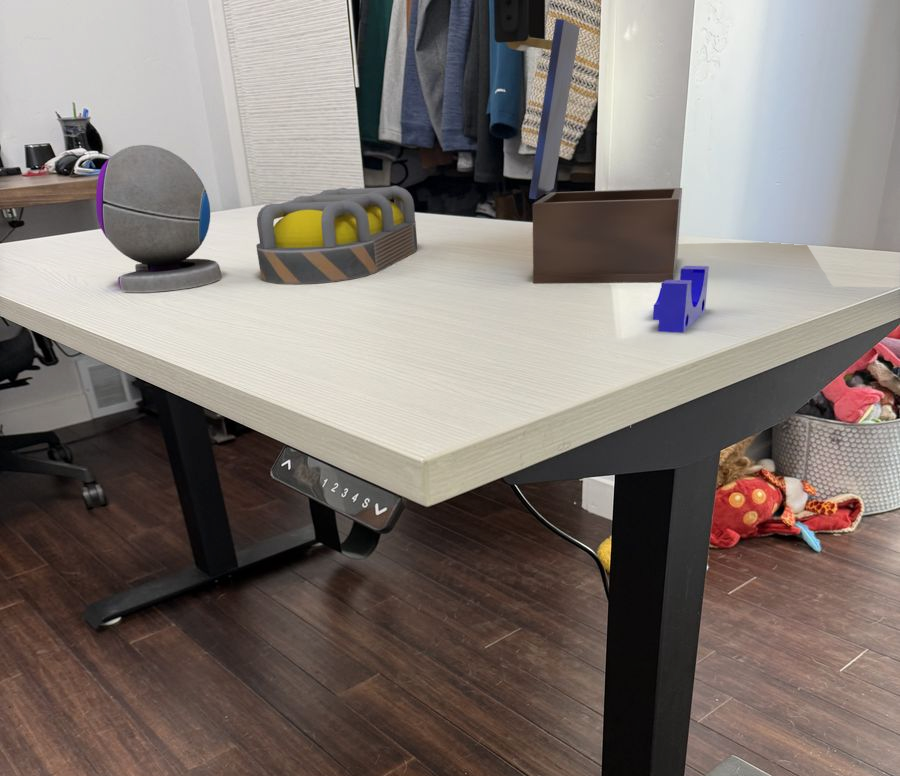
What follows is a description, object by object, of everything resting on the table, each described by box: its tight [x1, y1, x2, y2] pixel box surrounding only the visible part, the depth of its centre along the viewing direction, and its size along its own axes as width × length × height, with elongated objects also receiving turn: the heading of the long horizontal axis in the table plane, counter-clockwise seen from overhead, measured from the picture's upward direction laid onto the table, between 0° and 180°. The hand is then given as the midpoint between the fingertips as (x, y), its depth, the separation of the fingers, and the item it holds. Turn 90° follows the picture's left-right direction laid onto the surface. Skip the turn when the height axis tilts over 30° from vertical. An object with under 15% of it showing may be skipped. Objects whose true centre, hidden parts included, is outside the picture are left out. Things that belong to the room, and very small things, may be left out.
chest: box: [532, 187, 683, 284], centre depth 93 cm, size 15×12×8 cm
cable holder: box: [652, 265, 710, 334], centre depth 71 cm, size 8×4×4 cm, turn 154°
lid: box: [506, 18, 581, 200], centre depth 89 cm, size 15×12×6 cm
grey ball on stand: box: [95, 144, 222, 293], centre depth 102 cm, size 13×13×15 cm
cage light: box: [256, 185, 418, 285], centre depth 110 cm, size 15×8×30 cm
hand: (520, 43), depth 87 cm, fingers open, 9 cm apart
